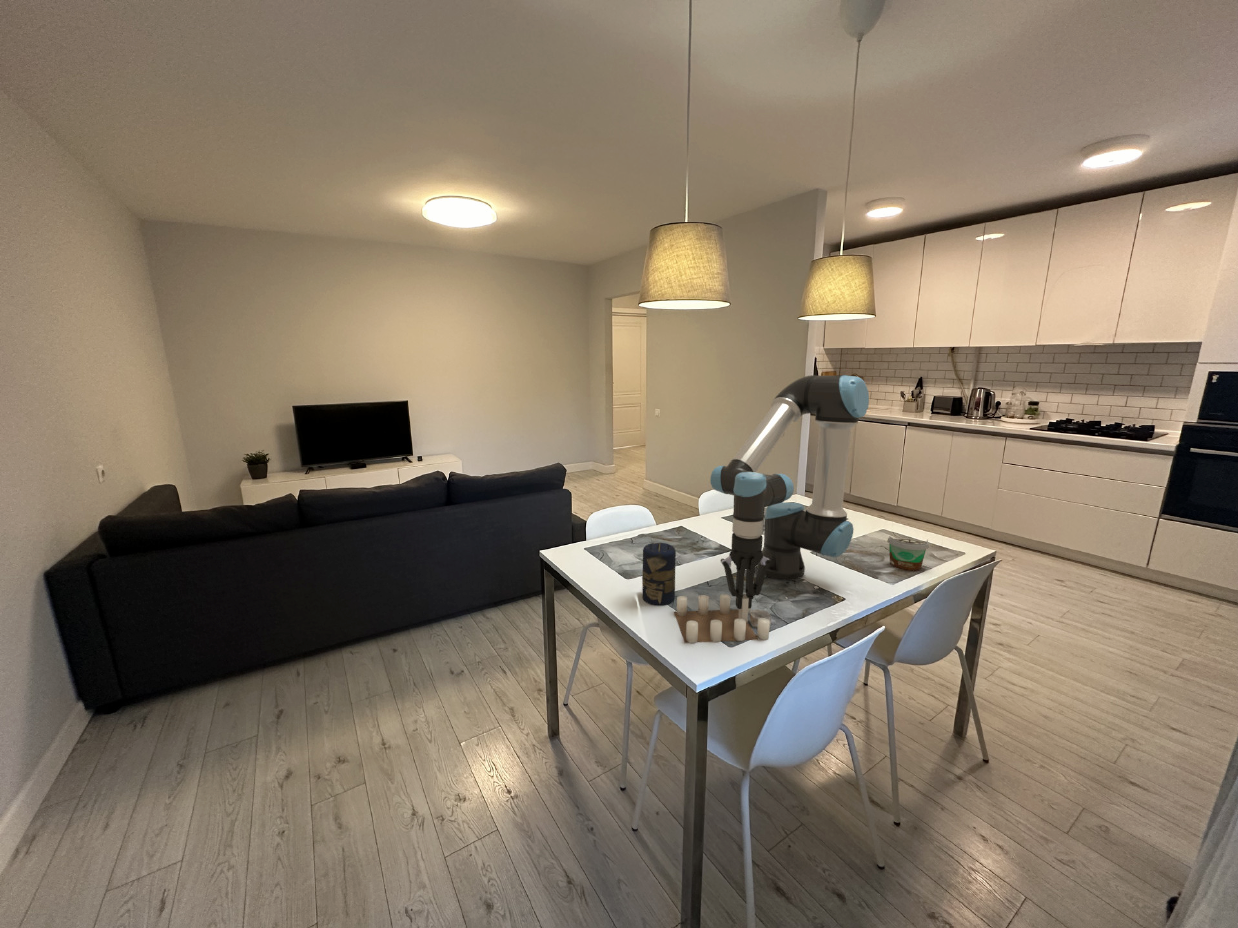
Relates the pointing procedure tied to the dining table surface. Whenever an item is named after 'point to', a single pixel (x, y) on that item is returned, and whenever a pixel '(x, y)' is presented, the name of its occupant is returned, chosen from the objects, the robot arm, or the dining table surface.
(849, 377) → the robot arm
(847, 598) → the dining table surface
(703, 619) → the board
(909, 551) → the food container
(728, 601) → the spacers
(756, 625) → the nut
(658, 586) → the canister
